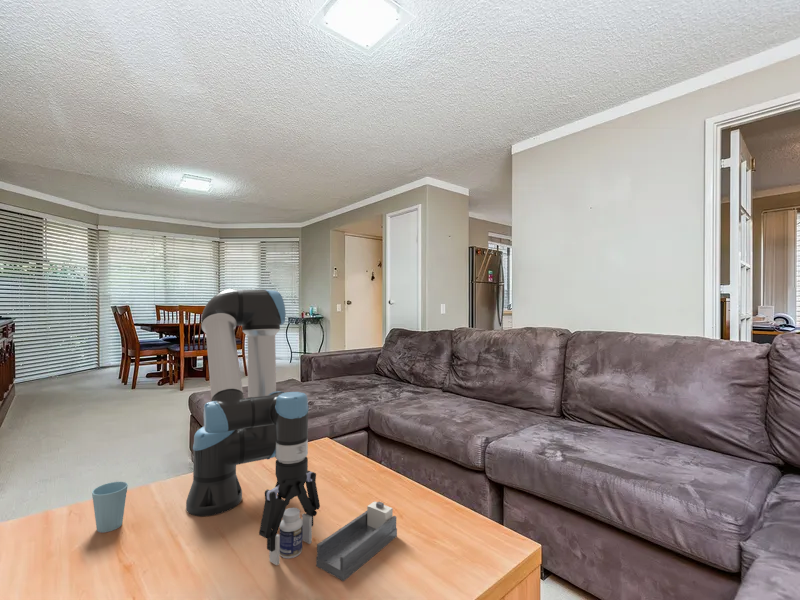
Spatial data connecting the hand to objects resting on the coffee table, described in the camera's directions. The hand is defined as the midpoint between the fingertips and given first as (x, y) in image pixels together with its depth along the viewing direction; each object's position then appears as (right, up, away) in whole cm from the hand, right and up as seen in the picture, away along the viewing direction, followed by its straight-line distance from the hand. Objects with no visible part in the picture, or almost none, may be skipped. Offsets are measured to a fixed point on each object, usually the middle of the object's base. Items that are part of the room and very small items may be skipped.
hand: (291, 551), depth 94 cm
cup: (-51, 0, +10) cm, 52 cm away
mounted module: (+21, +2, +8) cm, 22 cm away
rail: (+16, 0, +1) cm, 16 cm away
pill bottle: (0, 0, 0) cm, 0 cm away
